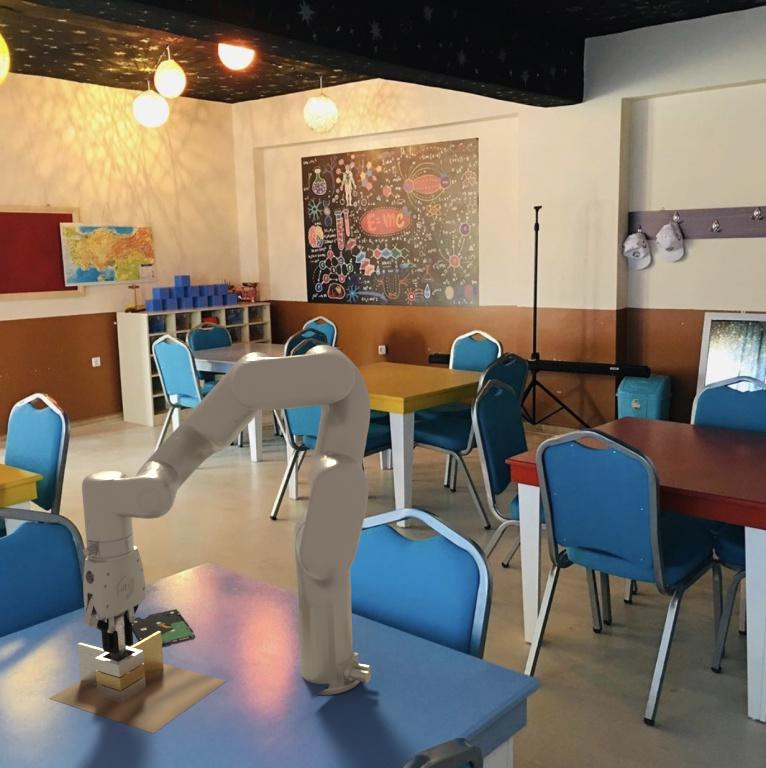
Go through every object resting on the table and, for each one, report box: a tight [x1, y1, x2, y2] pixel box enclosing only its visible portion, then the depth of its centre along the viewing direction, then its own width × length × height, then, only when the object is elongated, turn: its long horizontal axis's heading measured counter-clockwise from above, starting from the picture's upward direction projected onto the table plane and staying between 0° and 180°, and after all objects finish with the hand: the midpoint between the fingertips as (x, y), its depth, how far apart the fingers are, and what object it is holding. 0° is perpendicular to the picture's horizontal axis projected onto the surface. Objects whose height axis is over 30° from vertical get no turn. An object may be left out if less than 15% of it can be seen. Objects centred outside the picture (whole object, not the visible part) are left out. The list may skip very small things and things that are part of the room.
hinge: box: [77, 631, 164, 704], centre depth 148 cm, size 13×13×7 cm
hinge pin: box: [111, 612, 127, 662], centre depth 142 cm, size 3×3×10 cm
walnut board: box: [49, 662, 228, 734], centre depth 145 cm, size 24×18×2 cm
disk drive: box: [132, 608, 196, 647], centre depth 168 cm, size 10×3×15 cm
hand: (118, 647), depth 142 cm, fingers closed on hinge pin, 2 cm apart
